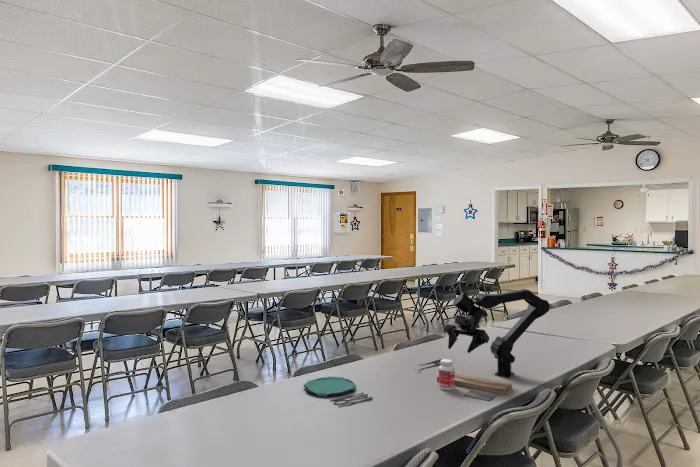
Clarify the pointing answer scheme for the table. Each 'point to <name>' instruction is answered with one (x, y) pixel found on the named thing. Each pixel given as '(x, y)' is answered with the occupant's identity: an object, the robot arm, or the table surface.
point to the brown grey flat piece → (481, 386)
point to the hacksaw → (430, 363)
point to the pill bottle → (446, 375)
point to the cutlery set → (334, 389)
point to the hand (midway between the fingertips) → (458, 350)
